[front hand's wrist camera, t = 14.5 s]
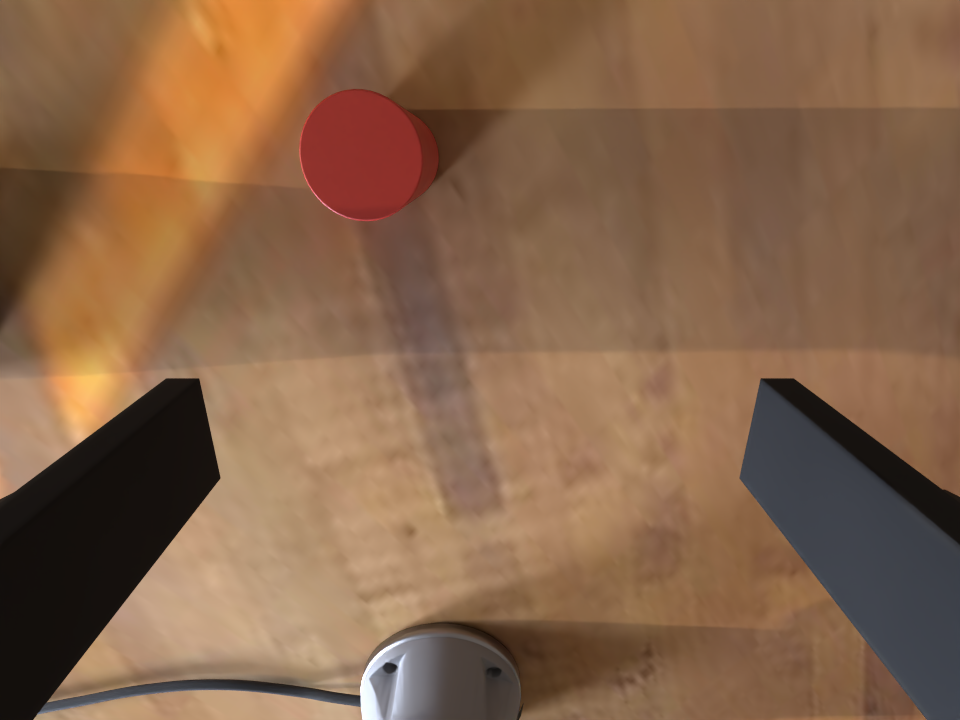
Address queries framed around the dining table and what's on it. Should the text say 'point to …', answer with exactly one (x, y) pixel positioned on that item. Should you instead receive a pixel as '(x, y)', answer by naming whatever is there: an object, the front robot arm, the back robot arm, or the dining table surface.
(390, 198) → the cylinder
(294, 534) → the dining table surface
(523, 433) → the dining table surface
